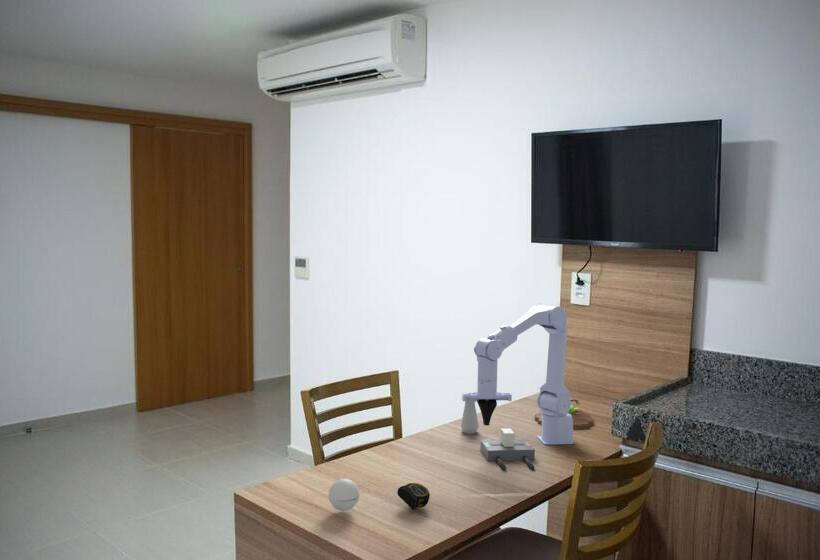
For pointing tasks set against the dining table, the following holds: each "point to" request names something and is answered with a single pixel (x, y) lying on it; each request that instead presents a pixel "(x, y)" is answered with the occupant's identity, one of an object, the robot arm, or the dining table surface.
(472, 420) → the salt shaker
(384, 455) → the dining table surface
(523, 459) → the dressed cords
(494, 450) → the breaker block
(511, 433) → the breaker handle
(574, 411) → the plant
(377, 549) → the dining table surface
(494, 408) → the robot arm
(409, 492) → the tape measure
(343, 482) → the white oval body
